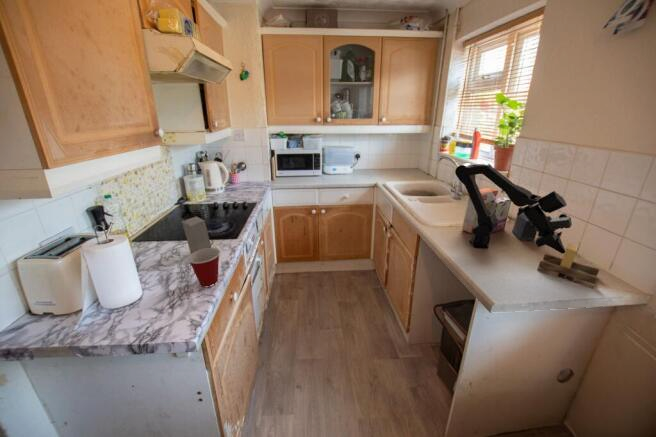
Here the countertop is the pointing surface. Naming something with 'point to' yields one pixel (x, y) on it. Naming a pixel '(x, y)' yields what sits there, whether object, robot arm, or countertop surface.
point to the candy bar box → (500, 211)
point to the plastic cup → (205, 265)
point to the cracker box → (471, 214)
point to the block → (569, 255)
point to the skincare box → (196, 234)
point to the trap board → (569, 270)
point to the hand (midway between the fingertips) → (564, 252)
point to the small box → (524, 229)
